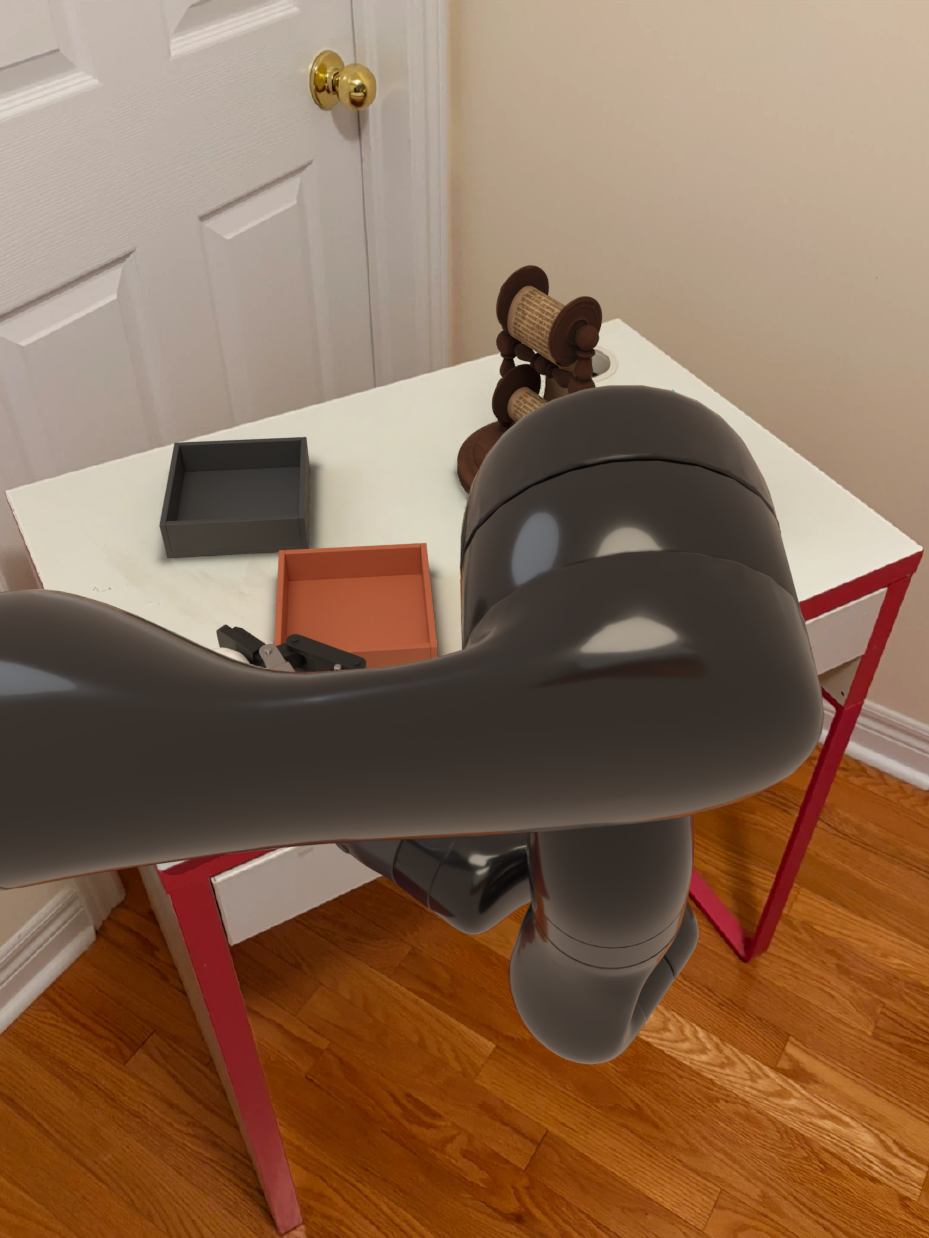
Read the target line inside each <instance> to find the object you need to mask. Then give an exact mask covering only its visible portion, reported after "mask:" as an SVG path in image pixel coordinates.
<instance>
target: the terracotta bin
mask: <svg viewBox="0 0 929 1238" xmlns="http://www.w3.org/2000/svg"><path fill="white" fill-rule="evenodd" d="M428 554H429V553H428V544H427V542H415V543H396V544H376V545H357V546H338V547H337V546H336V547H321V548H320V547H319V548H308V549H297V550H279V552H278V560H277V580H276V581H277V582H276V598H275V620H274V621H275V622H274V637H273V638H274V639H273V645H275V646H277V645H280V644H283V643H286V639H287V637H288V636H290V635H292V634H299V635H302V636H305V637H308V638H310V639H313V640H316V641H319V642H321V643H324V644H327V645H330V646H332V647H335V648H338V649H341V650H343V651H346V652H349V653H352V654H354V655H357V656H360V657H362V658H364V659H365V660H366V665H367V668H378V667H385V666H393V665H400V664H406V663H411V662H416V661H421V660H426V659H431V658H435V657H438V640H437V631H436V621H435V611H434V603H433V602H434V601H433V594H432V593H433V592H432V583H431V574H430V563H429V555H428Z"/></svg>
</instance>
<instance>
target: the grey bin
mask: <svg viewBox="0 0 929 1238" xmlns="http://www.w3.org/2000/svg"><path fill="white" fill-rule="evenodd" d="M170 459H171V460H170V465H169V470H168V475H167V476H168V477H167V480H166V486H165V492H164V497H163V502H162V503H163V504H162V509H161V515H160V521H159V525H158V526H159V529H160V534H161V538H162V542H163V546H164V549H165V550H164V551H165V554H166V558H169V559H170V558H187V557H205V556H206V557H207V556H210V557H211V556H227V555H246V554H265V553H279V550H297V549H309V543H310V542H309V539H310V538H309V536H310V535H309V534H310V490H311V489H310V488H311V487H310V484H311V464H310V456H309V447H308V438H307V436H294V437H272V438H271V437H269V438H268V437H267V438H249V439H247V438H246V439H225V440H223V439H222V440H203V441H200V440H199V441H180V442H179V441H178V442H174V443H173V449H172V453H171V458H170Z"/></svg>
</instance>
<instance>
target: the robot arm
mask: <svg viewBox="0 0 929 1238" xmlns="http://www.w3.org/2000/svg"><path fill="white" fill-rule="evenodd" d="M674 391H675V390H674ZM674 391H672V389H667V388H661V387H654V386H650V385H649V386H648V385H644V384H643V385H642V384H628V385H627V384H625V385H624V384H623V385H621V384H618V385H617V384H615V385H614V384H611V385H610V384H609V385H601V386H596V387H594V388H589V389H584V390H580V391H577V392H574V393H571V394H569V395H566V396H563V397H560V398H557V399H554V400H552V401H550V402H548V403H546V404H544V405H543V406H541V407H539V408H537V409H535V410H534V411H532V412H530V413H528V414H526V415H525V416H524V417H523V418H521V419H520V420H519V421H518V422H517V423H515V424H514V425H513V426H512V427H511V428H509V429H508V430H507V431H506V432H505V433H503V435H502V436H501V437H500V438H499V440H498V441H497V442H496V443H495V445H494V446H493V447H492V449H491V450H490V451H489V452H488V454H487V455H486V456H485V458H484V460H483V462H482V464H481V466H480V468H479V470H478V472H477V474H476V476H475V478H474V480H473V482H472V485H471V489H470V493H469V495H468V497H467V501H466V503H465V504H466V505H465V508H464V513H463V518H462V523H461V530H460V531H461V532H460V553H459V556H460V557H459V574H460V575H459V576H460V578H459V587H460V588H459V589H460V590H459V592H460V627H461V628H460V629H461V630H460V631H461V632H460V633H461V649H459V650H457V651H456V650H455V651H453V652H449V653H446V654H443V655H440V656H437V657H435V658H431V659H426V660H421V661H416V662H411V663H406V664H400V665H393V666H385V667H378V668H367V665H366V660H365V659H364V658H362V657H360V656H357V655H354V654H352V653H349V652H346V651H343V650H341V649H338V648H335V647H332V646H330V645H327V644H324V643H321V642H319V641H316V640H313V639H310V638H308V637H305V636H302V635H299V634H292V635H290V636H288V637H287V639H286V643H283V644H280V645H277V646H275V645H274V643H265V642H264V641H262V640H261V639H259V638H258V637H256V636H255V635H253V634H252V633H251V632H249V631H248V630H246V629H245V628H243V627H240V626H236V625H235V626H233V627H232V626H229V625H228V624H223V625H222V626H221V627H219V628H218V629H216V631H215V632H216V638H217V643H218V646H219V648H228V649H231V650H234V651H237V652H239V653H241V654H243V655H244V656H245V658H246V659H247V660H248V662H249V663H250V664H249V663H245V662H242V661H238V660H235V659H233V658H230V657H228V656H225V655H223V654H221V653H218V652H216V651H213V650H211V649H212V648H209V647H206V646H205V645H202V644H200V643H198V642H196V641H194V640H193V639H192V640H191V639H190V638H187V637H185V636H184V635H181V634H179V633H177V632H174V630H173V631H172V630H170V629H168V628H167V627H164V626H162V625H159V624H157V623H155V622H153V621H151V620H149V619H146V618H144V617H142V616H140V615H138V614H135V613H133V612H130V611H127V610H125V609H122V608H121V607H120V608H119V607H117V606H115V605H112V604H109V603H107V602H104V601H100V600H97V599H94V598H90V597H86V596H83V595H79V594H76V593H72V592H66V591H61V590H57V589H46V588H34V589H33V588H32V589H31V588H30V589H15V590H5V591H0V892H1V891H2V892H3V891H8V890H13V889H22V888H29V887H34V886H39V885H43V884H49V883H54V882H60V881H65V880H70V879H75V878H81V877H86V876H91V875H96V874H103V873H108V872H114V871H122V870H127V869H133V868H134V869H135V868H141V867H148V866H155V865H162V864H169V863H176V862H177V863H178V862H182V861H191V860H197V859H198V860H199V859H205V858H211V857H219V856H226V855H232V854H240V853H241V854H243V853H251V852H258V851H259V852H260V851H269V850H278V849H287V848H297V847H307V846H309V847H310V846H319V845H320V846H321V845H331V844H332V845H333V844H334V845H336V847H337V848H338V849H339V850H341V852H343V853H345V854H348V855H350V856H351V857H353V858H354V859H355V860H357V861H358V862H359V863H361V864H362V865H364V867H367V868H368V869H371V870H372V871H374V872H376V873H377V874H379V875H381V876H383V877H385V879H388V880H389V881H391V883H393V884H395V885H397V886H398V887H399V888H401V889H402V890H403V891H405V892H406V893H407V894H408V895H410V896H411V897H412V898H414V899H415V900H416V901H417V902H418V903H420V904H421V905H423V907H425V908H426V909H428V910H429V911H431V913H433V914H434V915H436V916H437V917H438V918H439V919H441V920H442V921H443V922H445V923H446V924H447V925H449V926H450V927H452V928H454V929H456V931H459V932H460V933H463V934H465V935H468V936H478V935H481V934H484V933H487V932H489V931H491V930H493V929H494V928H495V927H497V926H498V925H500V924H501V923H502V922H503V921H505V920H506V919H507V918H508V917H510V916H511V915H513V914H514V913H515V912H517V911H518V910H520V909H521V908H522V907H524V906H526V905H528V904H529V905H528V907H527V909H526V912H525V914H524V916H523V918H522V921H521V923H520V927H519V930H518V932H517V936H516V938H515V940H514V945H513V947H512V951H511V954H510V958H509V962H508V969H507V970H508V971H507V972H508V973H507V974H508V976H507V977H508V978H507V981H508V987H509V992H510V996H511V999H512V1003H513V1005H514V1007H515V1010H516V1012H517V1014H518V1016H519V1019H520V1020H521V1021H522V1023H523V1025H524V1026H525V1028H526V1029H527V1030H528V1032H530V1034H531V1035H532V1036H533V1037H534V1038H535V1040H537V1041H538V1042H539V1043H540V1044H541V1045H542V1046H544V1047H545V1048H546V1049H547V1050H549V1051H550V1052H551V1053H553V1054H555V1055H556V1056H558V1057H559V1058H562V1059H564V1060H566V1061H570V1062H573V1063H576V1064H582V1065H599V1064H604V1063H607V1062H608V1063H609V1062H610V1061H612V1060H614V1059H616V1058H618V1057H619V1056H621V1055H622V1054H623V1053H624V1052H625V1051H627V1049H628V1048H629V1047H630V1046H631V1045H632V1044H633V1042H634V1041H635V1040H636V1038H637V1037H638V1035H639V1034H640V1032H641V1030H642V1029H643V1028H644V1026H645V1025H646V1023H647V1022H648V1020H649V1019H650V1017H651V1016H652V1015H653V1013H654V1011H655V1010H656V1008H657V1007H658V1006H659V1005H660V1003H661V1002H662V1000H663V999H664V997H665V996H666V994H667V992H668V991H669V990H670V988H671V986H672V985H673V983H674V981H676V980H677V978H678V977H679V975H680V974H681V973H682V971H683V969H684V968H685V966H686V965H687V964H688V962H689V960H690V959H691V957H692V956H693V954H694V953H695V950H696V949H697V946H698V942H699V937H700V928H699V922H698V918H697V915H696V912H695V910H694V908H693V907H692V905H691V903H690V901H689V900H688V898H689V894H690V889H691V883H692V878H693V877H692V876H693V871H694V863H695V862H694V861H695V827H694V826H695V824H694V823H695V821H694V820H695V819H694V816H696V815H699V814H703V813H707V812H711V811H714V810H718V809H722V808H725V807H728V806H732V805H734V804H737V803H740V802H742V801H745V800H748V799H751V798H752V797H755V796H757V795H759V794H761V793H763V792H766V791H767V790H770V789H772V788H773V787H775V786H776V785H778V784H780V783H781V782H783V781H784V780H786V779H788V778H789V777H791V776H792V775H793V774H794V773H796V772H797V771H798V770H799V769H800V768H801V767H802V766H803V764H804V763H805V762H806V761H807V759H808V758H810V756H811V755H812V754H813V752H814V751H815V750H816V747H817V746H818V744H819V743H820V742H819V741H820V739H821V737H822V734H823V730H824V729H823V728H824V722H825V711H824V710H825V709H824V701H823V692H822V691H823V690H822V686H821V682H820V679H819V675H818V671H817V670H818V669H817V665H816V662H815V657H814V653H813V650H812V645H811V642H810V636H809V633H808V629H807V625H806V624H807V623H806V618H805V617H804V615H803V613H802V609H801V605H800V602H799V597H798V593H797V590H796V586H795V582H794V579H793V574H792V571H791V567H790V564H789V560H788V556H787V552H786V548H785V545H784V540H783V537H782V531H781V526H780V522H779V519H778V516H777V512H776V509H775V505H774V502H773V498H772V496H771V492H770V489H769V487H768V484H767V482H766V479H765V478H764V477H765V476H763V473H762V471H761V469H760V468H759V465H758V464H757V462H756V460H755V458H754V456H753V454H752V453H751V451H750V449H749V448H748V446H747V444H746V442H745V441H744V440H743V438H742V437H741V436H740V435H739V434H738V433H737V432H736V431H735V429H734V428H733V427H732V426H731V425H730V424H729V423H728V422H727V421H726V419H724V418H723V417H722V416H721V415H720V414H719V413H717V412H715V411H714V410H712V409H711V408H709V407H708V406H707V405H705V404H703V403H702V402H701V401H699V400H697V399H695V398H692V397H689V396H687V395H685V394H682V393H679V392H676V391H675V392H674Z"/></svg>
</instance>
